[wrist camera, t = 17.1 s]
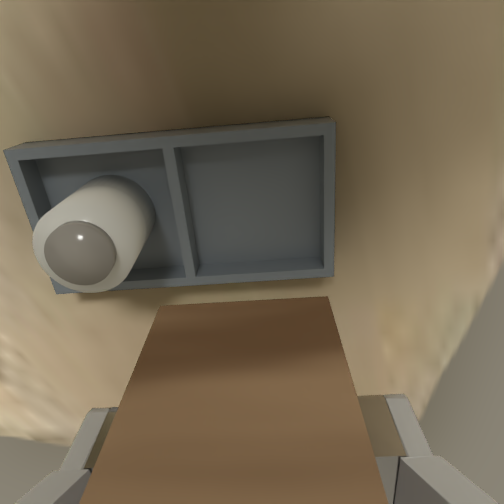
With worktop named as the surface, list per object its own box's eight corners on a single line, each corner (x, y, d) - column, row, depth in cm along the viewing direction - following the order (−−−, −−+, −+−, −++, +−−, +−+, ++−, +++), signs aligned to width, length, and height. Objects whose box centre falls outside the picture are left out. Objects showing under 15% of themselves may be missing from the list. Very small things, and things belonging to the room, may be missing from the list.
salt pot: (60, 192, 23) (4, 231, 18) (131, 162, 22) (96, 193, 17) (102, 257, 25) (64, 311, 20) (168, 232, 24) (147, 280, 19)
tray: (25, 142, 23) (3, 150, 21) (328, 116, 22) (336, 122, 20) (71, 276, 27) (56, 294, 25) (328, 260, 26) (333, 276, 24)
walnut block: (160, 306, 10) (69, 527, 5) (328, 296, 10) (392, 517, 5) (185, 422, 12) (136, 662, 7) (326, 416, 12) (372, 659, 7)
